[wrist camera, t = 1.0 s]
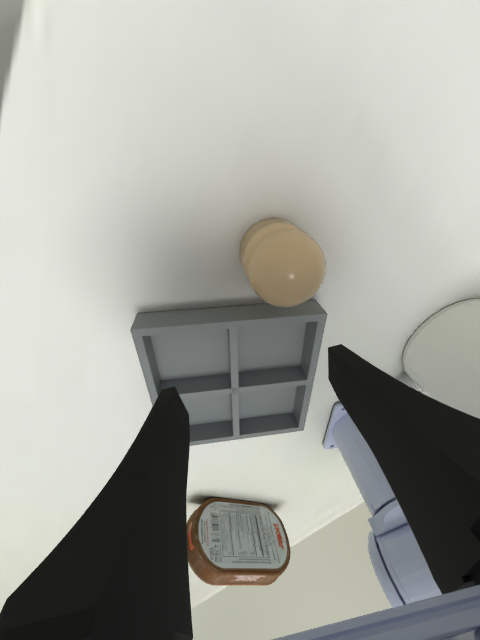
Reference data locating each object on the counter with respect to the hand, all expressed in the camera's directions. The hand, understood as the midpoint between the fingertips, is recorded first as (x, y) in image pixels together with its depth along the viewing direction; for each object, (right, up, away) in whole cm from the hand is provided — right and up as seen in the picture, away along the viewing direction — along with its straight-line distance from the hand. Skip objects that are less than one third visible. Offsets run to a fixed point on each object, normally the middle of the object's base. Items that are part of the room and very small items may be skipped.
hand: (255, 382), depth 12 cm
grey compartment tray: (-1, -2, +11) cm, 12 cm away
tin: (-1, -24, +25) cm, 35 cm away
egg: (+1, +8, +6) cm, 10 cm away
